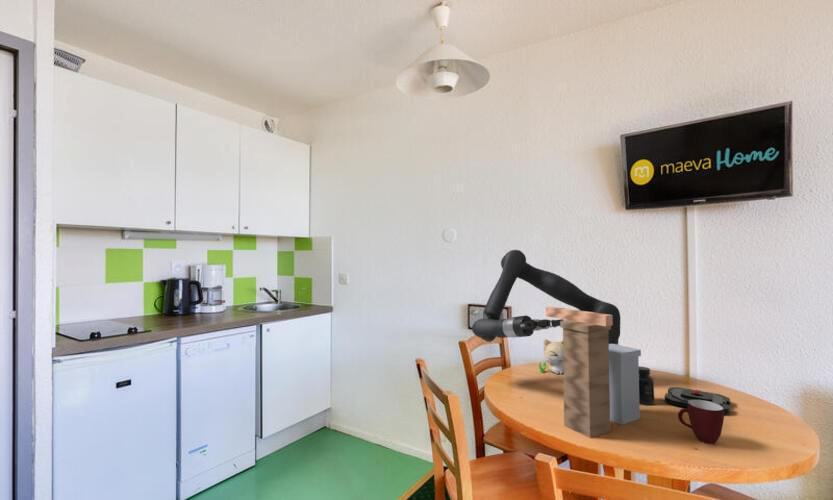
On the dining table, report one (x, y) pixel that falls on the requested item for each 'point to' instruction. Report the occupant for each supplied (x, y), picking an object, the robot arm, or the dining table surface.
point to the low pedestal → (624, 383)
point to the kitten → (553, 356)
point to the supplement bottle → (646, 387)
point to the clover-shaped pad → (695, 397)
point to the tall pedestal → (586, 377)
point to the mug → (704, 420)
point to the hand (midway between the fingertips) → (556, 322)
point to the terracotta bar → (580, 316)
